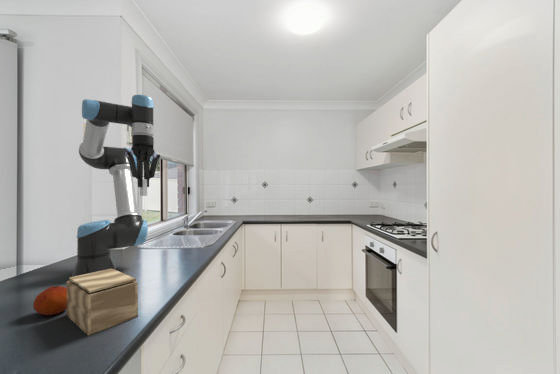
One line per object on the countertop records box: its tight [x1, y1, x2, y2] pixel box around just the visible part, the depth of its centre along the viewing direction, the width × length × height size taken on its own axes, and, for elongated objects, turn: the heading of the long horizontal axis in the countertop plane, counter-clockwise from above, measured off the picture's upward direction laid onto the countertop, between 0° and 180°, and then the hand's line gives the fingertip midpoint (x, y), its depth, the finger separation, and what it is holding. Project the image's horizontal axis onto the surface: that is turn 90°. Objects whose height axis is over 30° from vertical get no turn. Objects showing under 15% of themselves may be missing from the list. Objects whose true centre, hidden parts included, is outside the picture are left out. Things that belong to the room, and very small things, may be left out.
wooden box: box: [66, 280, 139, 337], centre depth 76 cm, size 18×12×10 cm, turn 53°
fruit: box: [33, 285, 67, 316], centre depth 79 cm, size 9×9×8 cm
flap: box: [68, 269, 137, 293], centre depth 76 cm, size 17×11×1 cm, turn 53°
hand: (143, 195), depth 102 cm, fingers closed
